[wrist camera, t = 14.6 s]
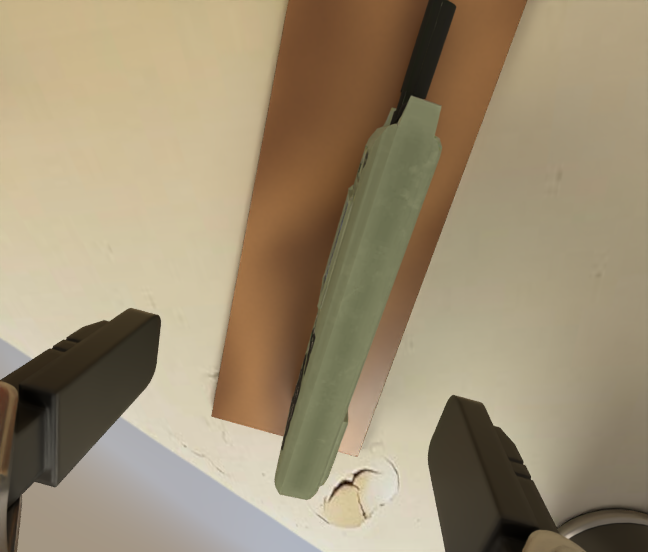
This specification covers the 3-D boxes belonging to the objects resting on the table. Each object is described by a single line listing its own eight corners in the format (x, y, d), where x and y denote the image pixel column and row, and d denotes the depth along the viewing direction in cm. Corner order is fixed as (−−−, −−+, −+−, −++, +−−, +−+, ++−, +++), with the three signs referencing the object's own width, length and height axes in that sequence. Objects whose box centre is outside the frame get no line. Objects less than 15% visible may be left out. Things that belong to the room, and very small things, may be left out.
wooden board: (534, -29, 18) (540, -34, 18) (357, 450, 28) (357, 457, 28) (308, -90, 18) (306, -97, 18) (214, 411, 29) (211, 416, 28)
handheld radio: (283, 408, 27) (402, -1, 18) (328, 420, 27) (468, 19, 18) (263, 491, 21) (430, -71, 12) (322, 506, 21) (529, -40, 12)
